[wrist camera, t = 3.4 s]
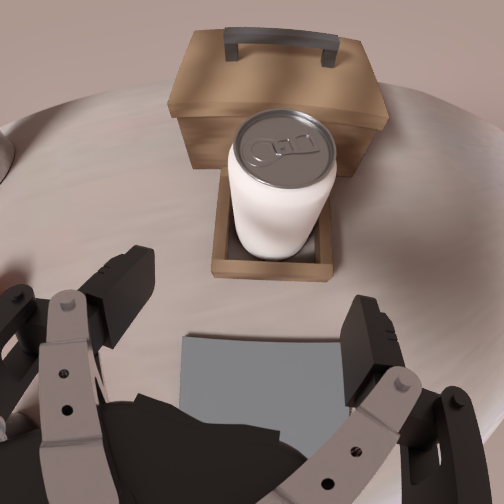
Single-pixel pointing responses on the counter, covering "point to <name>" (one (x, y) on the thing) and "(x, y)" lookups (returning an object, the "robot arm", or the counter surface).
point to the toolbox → (270, 97)
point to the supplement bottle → (19, 425)
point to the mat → (266, 387)
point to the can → (279, 180)
